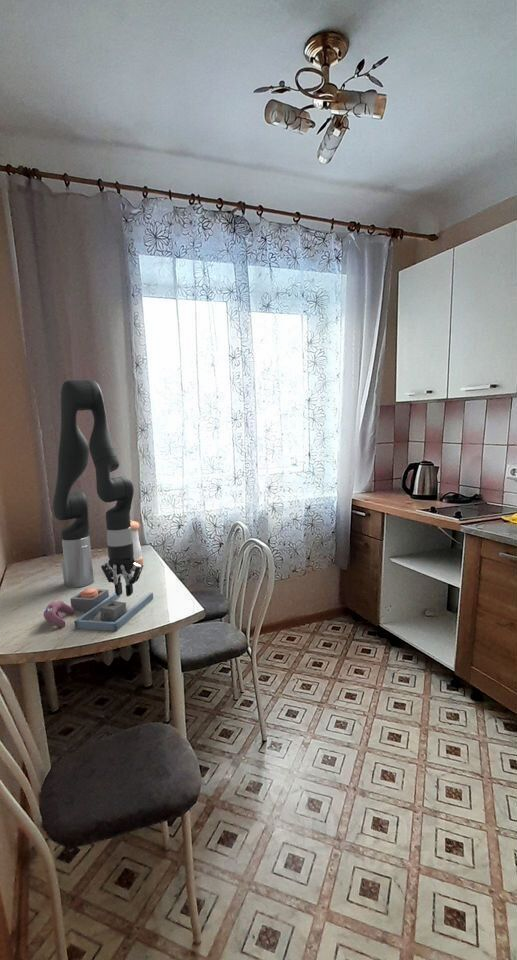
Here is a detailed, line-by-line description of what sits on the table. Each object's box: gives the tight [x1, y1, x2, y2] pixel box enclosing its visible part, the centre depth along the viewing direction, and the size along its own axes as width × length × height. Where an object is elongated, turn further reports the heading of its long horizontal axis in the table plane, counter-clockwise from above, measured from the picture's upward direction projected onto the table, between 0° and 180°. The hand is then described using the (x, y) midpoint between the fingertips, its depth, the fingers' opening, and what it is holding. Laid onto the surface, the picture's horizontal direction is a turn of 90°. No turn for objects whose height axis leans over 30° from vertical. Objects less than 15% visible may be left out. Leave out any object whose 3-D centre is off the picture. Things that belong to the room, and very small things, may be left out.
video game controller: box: [42, 599, 75, 628], centre depth 126 cm, size 10×5×7 cm, turn 7°
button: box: [80, 587, 98, 598], centre depth 135 cm, size 5×5×3 cm
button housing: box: [70, 588, 110, 613], centre depth 135 cm, size 8×8×4 cm
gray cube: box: [99, 600, 127, 622], centre depth 124 cm, size 5×5×5 cm
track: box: [74, 592, 154, 632], centre depth 130 cm, size 13×22×2 cm, turn 167°
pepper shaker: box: [130, 519, 144, 571], centre depth 171 cm, size 7×7×19 cm
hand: (124, 594), depth 135 cm, fingers open, 2 cm apart
